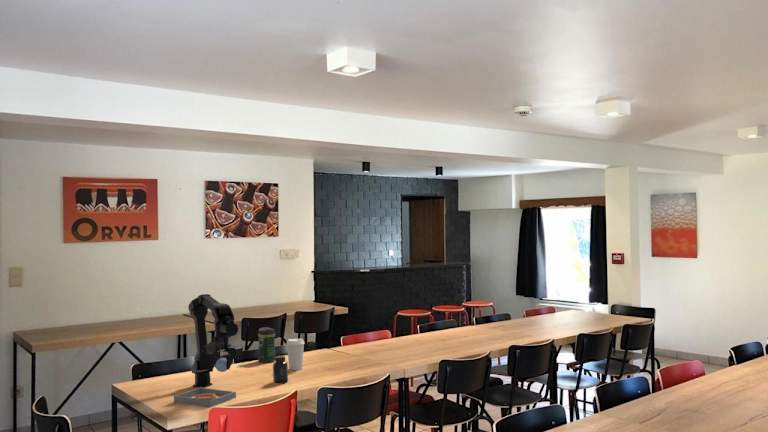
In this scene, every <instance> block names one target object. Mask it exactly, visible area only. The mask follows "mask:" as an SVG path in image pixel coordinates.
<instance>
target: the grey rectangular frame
mask: <svg viewBox="0 0 768 432" xmlns="http://www.w3.org/2000/svg"><path fill="white" fill-rule="evenodd" d="M236 398H237V391H231V390H223V389H217V388H216V389H215V388H210V387H209V388H208V387H197V388H194V389H191V390H188V391H185V392H182V393H179V394H176V395H173V402H174V403H179V404H187V405H192V406H199V407H207V408H212V407H214V406H217V405H220V404H223V403H226V402H229V401H231V400H233V399H236Z"/></svg>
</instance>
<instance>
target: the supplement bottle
mask: <svg viewBox="0 0 768 432" xmlns="http://www.w3.org/2000/svg"><path fill="white" fill-rule="evenodd" d="M288 367H289V363H288V362H287V361H286V356H285V355H277V356H276V355H275V361H274V362H273V365H272V373H273V374H272V375H273V377H272V378H273V383H274V384H285V383H288V381H289V369H288Z"/></svg>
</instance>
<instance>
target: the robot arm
mask: <svg viewBox="0 0 768 432" xmlns="http://www.w3.org/2000/svg"><path fill="white" fill-rule="evenodd" d="M187 306H188V307H187V308H188V311H189V314H190V317H191V318H192V319H193V321H194V330H195V331H194V332H195V340H196V349H197V350H196V354H195V355H194V362H193V363H192V367H191V368H190V370H191V373H192V374H194V384H192V387H195V388H196V387H197V388H200V387H201V388H207V387H209V386H211V385H213V383H212V382H211V372H214V368H215V369H216V362H217V360H219V359H220V357H221V352H225V353H226V354H224V356H225V357H224V358H225V359H226V360H227V370H226V371H228V370H230V369H231V367H232V364H233V361H234V360H235V358H236V356H237V355H239V354H242V353H244V348H243V347H242V346H241V345H240V346H239V345H233V346H232V345H231V344H230V342H229V339H230V338H231V337H233V336H235V335H236V334H238V332H239V325H237V323H236V322H235V314H234V313H233V310H232V308H231V305H229V304H228V303H222V302H219V301H217V300H216V299H215V298H213V297H212V296H211V294H208V293H206V294H200V295H198V296H197V297H196V298H194V299H192V300H191V301H190V302H189V304H188V305H187ZM209 311H211V316H212V317H213V319H214V320H213V323H214V326H215V327H214V328H215V330H214V331H215V335H214V336H213V337H212V340H211V341H210V342H209V343H208V336H207V327H206V326H207V325H206V317H207V315H208V312H209Z"/></svg>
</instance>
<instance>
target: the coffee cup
mask: <svg viewBox="0 0 768 432" xmlns="http://www.w3.org/2000/svg"><path fill="white" fill-rule="evenodd" d="M285 344H286V349H287V356H288V367H289V369H288V370H290V371H299V370H303V363H304V362H303V361H304V360H303V358H304V348H305V347H304V345H305V344H306V343H305V341H304V339H303V338H289V339H287V341H286V343H285Z"/></svg>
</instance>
